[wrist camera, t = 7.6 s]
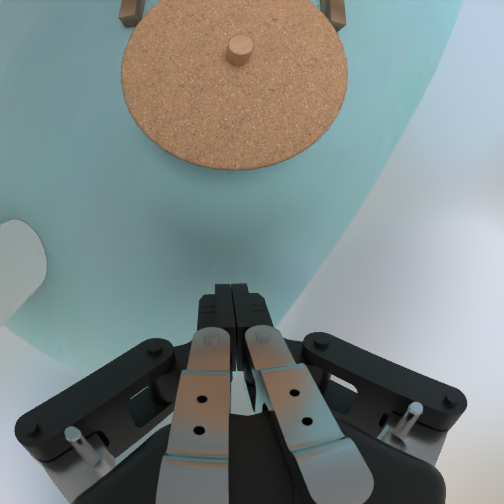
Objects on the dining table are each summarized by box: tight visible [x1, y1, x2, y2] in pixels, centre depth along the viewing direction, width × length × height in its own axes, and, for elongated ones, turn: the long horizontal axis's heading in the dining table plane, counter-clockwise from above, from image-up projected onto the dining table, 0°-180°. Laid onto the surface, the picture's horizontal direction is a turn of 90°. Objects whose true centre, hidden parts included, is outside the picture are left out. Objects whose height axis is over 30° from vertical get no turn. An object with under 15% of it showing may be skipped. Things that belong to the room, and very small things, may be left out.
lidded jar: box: [121, 0, 348, 171], centre depth 13 cm, size 11×11×9 cm
